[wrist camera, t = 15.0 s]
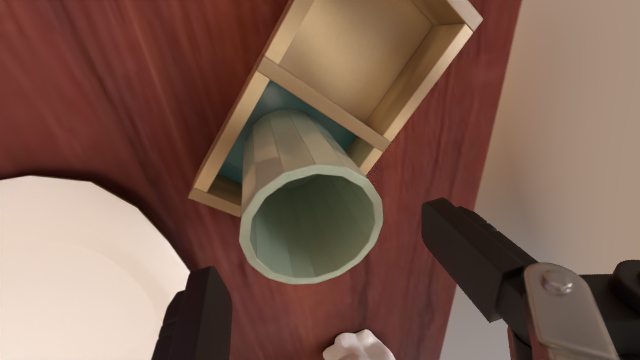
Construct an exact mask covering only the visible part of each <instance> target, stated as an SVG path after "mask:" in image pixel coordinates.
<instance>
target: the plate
mask: <svg viewBox="0 0 640 360" xmlns="http://www.w3.org/2000/svg"><path fill="white" fill-rule="evenodd" d="M190 272H191V271H190V269H189V268H188V267H187V265H186V264H185V262H184V261H183V260H182V258H181V257H180V255H179V254H178V253H177V251H176V250H175V248H174V247H173V246H172V244H171V243H170V241H169V240H168V239H167V238H166V237H165V236H164V235H163V233H162V232H161V231H160V230H159V229H158V228H157V227H156V226H155V225H154V224H153V223H152V221H151V220H150V219H149V218H148V217H147V216H146V215H145V214H144V213H143V212H142V211H141V209H140V208H139V207H138V206H136V205H134V204H132V203H131V202H129V201H127V200H125V199H123V198H122V197H120V196H118V195H116V194H115V193H113V192H111V191H109V190H107V189H106V188H104V187H102V186H100V185H99V184H97V183H95V182H93V181H88V180H79V179H70V178H61V177H51V176H42V175H33V174H32V175H26V176H19V177H13V178H7V179H1V180H0V360H151V358H152V355H153V352H154V349H155V345H156V342H157V340H158V339H159V337H158V335H159V332H160V329H161V326H163V324H162V322H163V319H164V316H165V312H166V309H167V306H168V305H169V304H170V302H171V301H172V299H173V298H174V296H175V295H176V293H177V292H179V291H182V290H185V287H186V283H187V279H188V276H189V274H190Z"/></svg>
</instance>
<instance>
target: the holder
mask: <svg viewBox="0 0 640 360" xmlns="http://www.w3.org/2000/svg"><path fill="white" fill-rule="evenodd" d="M482 20H483V18H482V17H481V16H480V14H479V13H478V12H477V11H476V9H475V8H474V7H473V6H472V5H471V3H470V2H469V1H468V0H289V1H288V3H287V5H286V7H285V9H284V11H283V12H282V14H281V16H280V18H279V20H278V22H277V24H276V26H275V27H274V29H273V31H272V33H271V35H270V37H269V39H268V41H267V42H266V44H265V46H264V48H263V50H262V52H261V54H260V55H259V57H258V59H257V61H256V63H255V65H254V67H253V69H252V70H251V72H250V74H249V76H248V78H247V80H246V82H245V84H244V85H243V87H242V89H241V91H240V93H239V95H238V97H237V99H236V100H235V102H234V104H233V106H232V108H231V110H230V112H229V113H228V115H227V117H226V119H225V121H224V123H223V125H222V127H221V128H220V130H219V132H218V134H217V136H216V138H215V140H214V142H213V143H212V145H211V147H210V149H209V151H208V153H207V155H206V156H205V158H204V160H203V162H202V164H201V166H200V168H199V170H198V171H197V174H196V176H195V179H194V182H193V184H192V187H191V190H190V192H189V195H188V198H190V199H193V200H195V201H198V202H201V203H203V204H206V205H208V206H211V207H214V208H216V209H219V210H222V211H224V212H227V213H230V214H232V215H235V216H238V217H240V207H241V184H242V161H243V147H244V141H245V138H246V136H247V133H248V131H249V130H250V128H251V127H252V126H253V125H254V123H255V122H256V121H258V120H259V119H260V118H261V117H263V116H264V115H266V114H268V113H270V112H273V111H276V110H282V109H293V110H299V111H302V112H305V113H307V114H309V115H311V116H312V117H314V118H315V119H316V120H317V121H319V122H320V123H321V124H322V125H323V126H324V128H325V129H326V130H327V131H328V132H329V134H330V135H331V136H332V137H333V138H334V139H335V141H336V142H337V143H338V144H339V145H340V147H341V148H342V149H343V150H344V151H345V152H346V154H347V155H348V156H349V157H350V158H351V159H352V161H353V162H354V163H355V164H356V165H357V167H358V168H359V169H360V170H361V171H362V172H363V174H364V175H365V176H366V174H367V173H368V172H369V170H370V169H371V168H372V166H373V165H374V164H375V162H376V161H377V160H378V158H379V157H380V156H381V154H382V152H384V151H385V149H386V148H387V147H388V145H389V144H390V142H391V141H392V140H393V139H394V137H395V136H396V135H397V133H398V132H399V131H400V129H401V128H402V127H403V125H404V124H405V123H406V121H407V120H408V119H409V117H410V116H411V115H412V113H413V112H414V111H415V109H416V108H417V107H418V105H419V104H420V103H421V101H422V100H423V99H424V97H425V96H426V95H427V93H428V92H429V91H430V89H431V88H432V87H433V85H434V84H435V83H436V81H437V80H438V79H439V77H440V76H441V75H442V73H443V72H444V71H445V69H446V68H447V67H448V65H449V64H450V63H451V61H452V60H453V59H454V57H455V56H456V55H457V53H458V52H459V51H460V49H461V48H462V47H463V45H464V44H465V43H466V41H467V40H468V39H469V37H470V36H471V35H472V33H473V32H474V31H475V29H476V28H477V27H478V25H479V24H480V23H481V21H482Z"/></svg>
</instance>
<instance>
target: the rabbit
mask: <svg viewBox="0 0 640 360" xmlns="http://www.w3.org/2000/svg"><path fill="white" fill-rule="evenodd" d="M323 357H324V359H325V360H395V358H394V356H393V354H392V353H391V351H390V350H389V349H388V348H387V347H386V346H385V345H384V344H383V343H382V342H381V341H380V340H378V339H377V338H376V337H375V336H374V335H373V334H372V333H371V331H369V330H367V329H366V330H362V331H360V332H358V333H356V334H353V333H342V334H340V335H338V336H337V337H336V338H335V343H334V345H331V346H330V347H328V348H326V349H325V350H324V352H323Z"/></svg>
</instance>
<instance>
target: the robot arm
mask: <svg viewBox="0 0 640 360" xmlns="http://www.w3.org/2000/svg"><path fill="white" fill-rule="evenodd" d="M421 233H422V238H423V241H424V243H425V245H426V247H427V248H428V249H429V251H430V252H431V253H432V254H433V255H434V257H435V258H436V259H437V260H438V261H439V263H440V264H441V265H442V266H443V267H444V269H445V270H446V271H447V272H448V273H449V275H450V276H451V277H452V278H453V279H454V281H455V282H456V283H457V284H458V285H459V287H460V288H461V289H462V290H463V291H464V293H465V294H466V295H467V296H468V297H469V299H470V300H471V301H472V302H473V303H474V305H475V306H476V307H477V308H478V309H479V310H480V312H481V313H482V314H483V315H484V317H485V318H486V319H487V320H488V321H489V323H491V322H493V321H496V320H499V319H503V320H504V321H505V322H506V323H507V324H508V329H507V330H508V331H507V332H508V340H509V348H510V356H511V360H640V260H626V261H623V262H620V263H619V264H618V265H617V266H616V268H615V270H614V272H613V274H597V275H596V274H594V275H577V274H576V273H574V272H573V271H571V270H569V269H567V268H565V267H562V266H560V265H556V264H552V263H539V262H538V261H536V260H535V259H534V258H532V257H531V256H530V255H529V254H527V253H526V252H525V251H524V250H522V249H521V248H520V247H518V246H517V245H516V244H515V243H513V242H512V241H511V240H510V239H508V238H507V237H506V236H504V235H503V234H502V233H501V232H499V231H497V230H496V228H494V227H493V226H492V225H491V224H489V223H487V221H485V220H484V219H483V218H482V217H480V216H479V215H478V214H477V213H475V212H473V211H471V210H468V209H466V208H464V207H461V206H459V207H455V206H454V205H453V204H452V203H450V202H449V201H448V200H447V199H445V198H438V199H435V200H432V201H428V202H425V203H423V205H422V229H421ZM231 323H232V301H231V297H230V294H229V291H228V290H227V288H226V286H225V284H224V282H223V280H222V279H221V277H220V275H219V273H218V271H217V269H216V268H215V267H214V266H209V267H206V268H202V269H199V270H196V271H192V272H190V274H189V276H188V279H187V283H186V287H185V290H182V291H179V292H177V293H176V295H175V296H174V298H173V299H172V301H171V302H170V304H169V305H168V306H167V309H166V312H165V316H164V319H163V322H162V324H163V326H161V329H160V332H159V335H158V337H159V339H158V340H157V342H156V345H155V349H154V352H153V355H152V358H151V360H229V355H230V339H231Z"/></svg>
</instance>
